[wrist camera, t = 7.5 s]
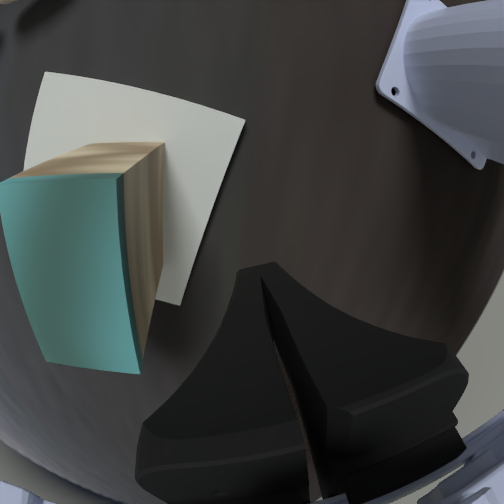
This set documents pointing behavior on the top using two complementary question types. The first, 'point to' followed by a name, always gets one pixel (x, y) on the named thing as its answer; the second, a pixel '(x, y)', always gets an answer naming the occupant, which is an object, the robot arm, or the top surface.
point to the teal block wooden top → (88, 251)
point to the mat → (144, 130)
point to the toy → (6, 1)
